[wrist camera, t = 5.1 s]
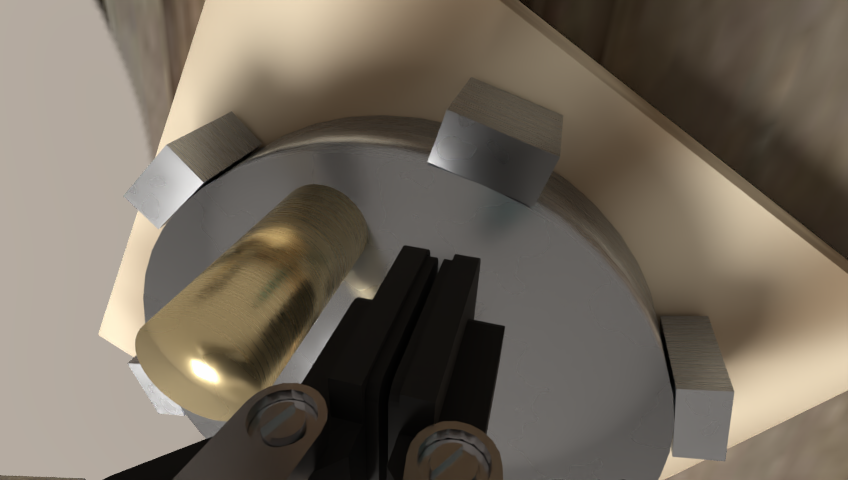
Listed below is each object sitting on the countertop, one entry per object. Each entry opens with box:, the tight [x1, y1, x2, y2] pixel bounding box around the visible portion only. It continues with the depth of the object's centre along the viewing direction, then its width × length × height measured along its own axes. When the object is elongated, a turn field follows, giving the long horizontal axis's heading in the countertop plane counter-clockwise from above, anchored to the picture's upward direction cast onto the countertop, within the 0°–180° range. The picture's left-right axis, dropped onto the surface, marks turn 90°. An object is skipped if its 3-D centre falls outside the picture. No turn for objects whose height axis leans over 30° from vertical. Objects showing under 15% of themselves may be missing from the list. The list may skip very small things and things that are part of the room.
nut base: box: [99, 0, 848, 480], centre depth 20 cm, size 22×22×2 cm
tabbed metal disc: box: [124, 77, 734, 480], centre depth 15 cm, size 18×20×8 cm
